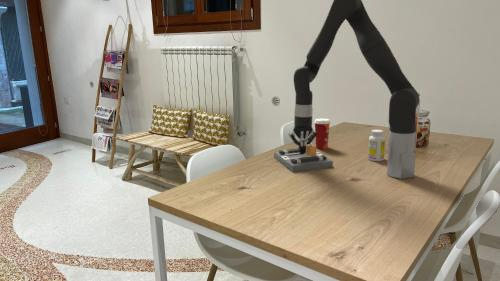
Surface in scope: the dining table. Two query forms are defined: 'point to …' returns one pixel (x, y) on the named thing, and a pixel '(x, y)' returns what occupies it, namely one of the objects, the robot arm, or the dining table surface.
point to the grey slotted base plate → (300, 160)
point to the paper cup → (322, 132)
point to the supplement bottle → (376, 146)
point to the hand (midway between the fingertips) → (302, 153)
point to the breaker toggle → (310, 150)
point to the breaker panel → (286, 161)
